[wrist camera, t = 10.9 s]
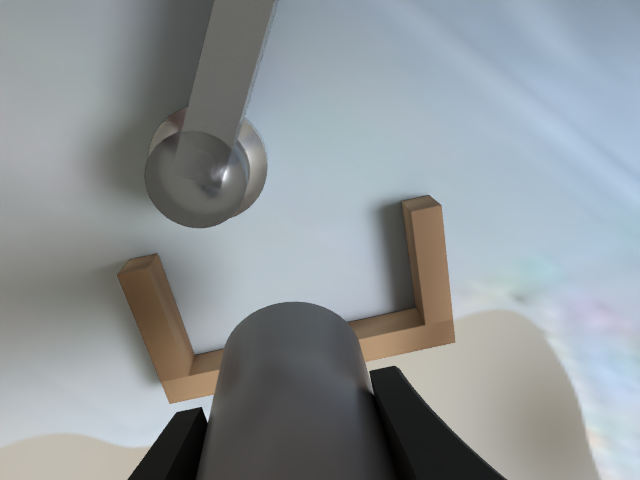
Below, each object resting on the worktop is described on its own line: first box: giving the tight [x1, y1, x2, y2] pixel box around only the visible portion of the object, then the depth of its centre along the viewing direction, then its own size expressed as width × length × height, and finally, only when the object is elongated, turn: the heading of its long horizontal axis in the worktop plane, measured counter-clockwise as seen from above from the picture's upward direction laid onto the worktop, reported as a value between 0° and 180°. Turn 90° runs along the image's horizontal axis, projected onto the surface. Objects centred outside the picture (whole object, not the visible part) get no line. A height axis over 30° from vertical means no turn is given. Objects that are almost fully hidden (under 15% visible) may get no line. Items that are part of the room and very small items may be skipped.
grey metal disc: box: [149, 107, 268, 218], centre depth 17 cm, size 4×4×1 cm
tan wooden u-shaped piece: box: [117, 195, 455, 404], centre depth 19 cm, size 13×6×2 cm, turn 101°
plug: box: [196, 302, 398, 480], centre depth 9 cm, size 4×4×7 cm
